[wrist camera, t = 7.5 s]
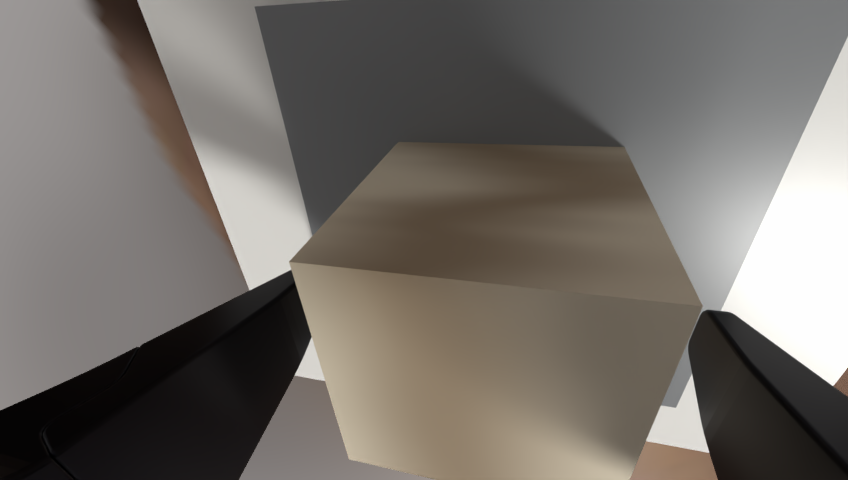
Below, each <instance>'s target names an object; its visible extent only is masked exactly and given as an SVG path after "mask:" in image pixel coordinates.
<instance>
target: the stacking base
mask: <svg viewBox="0 0 848 480" xmlns="http://www.w3.org/2000/svg"><path fill="white" fill-rule="evenodd" d="M137 1H138V4H139V6H140V9H141V11H142V14H143V17H144V19H145V22H146V24H147V27H148V29H149V32H150V35H151V37H152V40H153V42H154V45H155V47H156V50H157V53H158V55H159V58H160V60H161V63H162V66H163V68H164V71H165V73H166V76H167V78H168V81H169V84H170V86H171V89H172V91H173V94H174V97H175V99H176V102H177V104H178V107H179V109H180V112H181V115H182V117H183V120H184V122H185V125H186V127H187V130H188V133H189V135H190V138H191V140H192V143H193V146H194V148H195V151H196V153H197V156H198V158H199V161H200V164H201V166H202V169H203V171H204V174H205V176H206V179H207V182H208V184H209V187H210V189H211V192H212V195H213V197H214V200H215V202H216V205H217V207H218V210H219V213H220V215H221V218H222V220H223V223H224V226H225V228H226V231H227V233H228V236H229V238H230V241H231V244H232V246H233V249H234V251H235V254H236V256H237V259H238V262H239V264H240V267H241V269H242V272H243V275H244V277H245V280H246V282H247V285H248V287H249V290H252V289H254V288H256V287H258V286H260V285H262V284H264V283H265V282H267V281H269V280H271V279H273V278H275V277H277V276H279V275H281V274H283V273H285V272H287V271H289V270H291V267H290V263H289V261H290V260H291V259H292V258H293V257H294V256H295V255H296V254H297V252H298V251H299V250H300V249H301V248H302V247H303V246H304V245H305V244H306V243H307V241H308V240H309V239H310V238H311V237H312V236H313V235H314V234H315V233H316V232H317V230H318V229H319V228H320V227H321V226H322V225H323V224H324V223H325V222H326V221H327V220H328V218H329V217H330V216H331V215H332V214H333V213H334V212H335V211H336V210H337V209H338V207H339V206H340V205H341V204H342V203H343V202H344V201H345V200H346V199H347V198H348V196H349V195H350V194H351V193H352V192H353V191H354V190H355V189H356V188H357V187H358V185H359V184H360V183H361V182H362V181H363V180H364V179H365V178H366V177H367V176H368V175H369V173H370V172H371V171H372V170H373V169H374V168H375V167H376V166H377V165H378V164H379V162H380V161H381V160H382V159H383V158H384V157H385V156H386V155H387V154H388V153H389V151H390V150H391V149H392V148H393V147H394V146H395V145H396V144H397V143H398V142H422V143H467V144H512V145H557V146H601V147H625V149H626V151H627V153H628V155H629V157H630V159H631V161H632V163H633V165H634V167H635V169H636V171H637V174H638V176H639V178H640V180H641V182H642V184H643V186H644V188H645V190H646V192H647V194H648V196H649V198H650V200H651V202H652V204H653V206H654V208H655V210H656V212H657V214H658V216H659V218H660V220H661V222H662V224H663V226H664V228H665V230H666V232H667V234H668V236H669V238H670V240H671V242H672V244H673V247H674V249H675V251H676V253H677V255H678V257H679V259H680V261H681V263H682V265H683V267H684V269H685V271H686V273H687V275H688V277H689V279H690V281H691V283H692V285H693V287H694V289H695V291H696V293H697V295H698V297H699V299H700V301H701V303H702V305H703V308H702V310H701V312H700V315H701V313H702V312H703V311H705V310H718V311H727V312H731V313H733V314H735V315H736V316H738V317H739V318H740V319H742V320H743V321H744V322H746V323H747V324H749V325H750V326H751V327H753V328H754V329H755V330H757V331H758V332H760V333H761V334H762V335H764V336H765V337H766V338H768V339H769V340H771V341H772V342H773V343H775V344H776V345H777V346H779V347H780V348H781V349H783V350H784V351H786V352H787V353H788V354H790V355H791V356H792V357H794V358H795V359H797V360H798V361H799V362H801V363H802V364H803V365H805V366H806V367H807V368H809V369H810V370H812V371H813V372H814V373H816V374H817V375H818V376H820V377H821V378H823V379H824V380H825V381H827V382H828V383H829V384H831V385H832V386H834V384H835V383H836V382H837V381H838V379H839V378H840V377H841V375H842V374H843V373H844V372H845V370H846V369H847V368H848V0H137ZM700 315H699V316H700ZM698 319H699V317H698ZM698 319H697V321H698ZM696 323H697V322H696ZM695 326H696V324H695ZM695 326H694V328H695ZM693 330H694V329H693ZM692 333H693V331H692ZM692 333H691V335H692ZM690 337H691V336H690ZM689 340H690V338H689ZM688 344H689V341H688V343H687V345H686V348H685V350H684V352H683V355H682V357H681V359H680V362H679V364H678V366H677V369H676V371H675V373H674V376H673V378H672V381H671V383H670V385H669V388H668V390H667V392H666V395H665V397H664V399H663V402H662V404H661V406H660V409H659V411H658V414H657V416H656V418H655V421H654V423H653V425H652V428H651V430H650V432H649V435H648V437H647V439H646V441H649V442H654V443H659V444H665V445H670V446H675V447H681V448H686V449H691V450H697V451H702V452H708V453H709V450H708V446H707V443H706V439H705V436H704V432H703V428H702V423H701V419H700V413H699V408H698V403H697V397H696V392H695V387H694V381H693V376H692V371H691V365H690V360H689V355H688ZM295 376H301V377H306V378H311V379H317V380H322V381H325V379H324V375H323V372H322V369H321V366H320V362H319V359H318V356H317V352H316V349H315V346H314V342H313V339H312V338H311V340H310V343H309V345H308V348H307V350H306V353H305V355H304V357H303V359H302V362H301V364H300V366H299V368H298V369H297V371H296V373H295Z"/></svg>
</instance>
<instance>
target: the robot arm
mask: <svg viewBox="0 0 848 480" xmlns="http://www.w3.org/2000/svg"><path fill="white" fill-rule="evenodd" d="M311 338H312V336H311V333H310V329H309V326H308V323H307V319H306V316H305V313H304V310H303V306H302V303H301V300H300V296H299V293H298V290H297V287H296V283H295V280H294V277H293V273H292V270H289V271H287V272H285V273H283V274H281V275H279V276H277V277H275V278H273V279H271V280H269V281H267V282H265V283H264V284H262V285H260V286H258V287H256V288H254V289H252V290H250V291H248V292H246V293H244V294H242V295H240V296H238V297H236V298H234V299H232V300H230V301H228V302H226V303H224V304H222V305H220V306H218V307H216V308H214V309H212V310H210V311H208V312H206V313H204V314H202V315H200V316H198V317H196V318H194V319H192V320H190V321H188V322H186V323H184V324H182V325H180V326H178V327H176V328H174V329H172V330H170V331H168V332H166V333H164V334H162V335H160V336H158V337H156V338H154V339H152V340H150V341H148V342H146V343H144V344H142V345H141V346H140V347H136V348H134V349H132V350H130V351H128V352H126V353H124V354H122V355H120V356H118V357H116V358H114V359H112V360H110V361H108V362H106V363H104V364H102V365H100V366H97V367H95V368H93V369H91V370H89V371H87V372H85V373H83V374H81V375H79V376H76V377H74V378H72V379H70V380H68V381H65V382H63V383H61V384H59V385H57V386H54V387H52V388H50V389H48V390H45V391H44V392H41V393H39V394H36V395H34V396H32V397H30V398H27V399H25V400H23V401H21V402H18V403H16V404H14V405H12V406H10V407H7V408H5V409H3V410H0V480H239V478H240V476H241V474H242V473H243V471H244V468H245V467H246V465H247V463H248V461H249V459H250V458H251V456H252V454H253V452H254V450H255V448H256V446H257V444H258V443H259V441H260V439H261V437H262V435H263V433H264V431H265V430H266V428H267V426H268V424H269V422H270V420H271V418H272V416H273V415H274V413H275V411H276V409H277V407H278V405H279V403H280V401H281V400H282V398H283V396H284V394H285V392H286V390H287V388H288V386H289V384H290V383H291V381H292V379H293V377H294V375H295V373H296V371H297V369H298V368H299V366H300V364H301V362H302V359H303V357H304V355H305V353H306V350H307V348H308V345H309V343H310V340H311ZM688 355H689V360H690V365H691V371H692V376H693V381H694V387H695V392H696V397H697V403H698V408H699V413H700V419H701V423H702V428H703V432H704V436H705V439H706V443H707V446H708V450H709V453H710V456H711V459H712V462H713V465H714V469H715V472H716V475H717V478H718V480H848V397H847V396H846V395H844V394H843V393H842V392H840V391H839V390H838V389H836V388H835V387H834V386H832V385H831V384H829V383H828V382H827V381H825V380H824V379H823V378H821V377H820V376H818V375H817V374H816V373H814V372H813V371H812V370H810V369H809V368H807V367H806V366H805V365H803V364H802V363H801V362H799V361H798V360H797V359H795V358H794V357H792V356H791V355H790V354H788V353H787V352H786V351H784V350H783V349H781V348H780V347H779V346H777V345H776V344H775V343H773V342H772V341H771V340H769V339H768V338H766V337H765V336H764V335H762V334H761V333H760V332H758V331H757V330H755V329H754V328H753V327H751V326H750V325H749V324H747V323H746V322H744V321H743V320H742V319H740V318H739V317H738V316H736V315H735V314H733V313H731V312H727V311H718V310H705V311H703V312H702V313H701V315H700V316H699V319H698V321H697V323H696V326H695V328H694V330H693V333H692V335H691V337H690V340H689V344H688Z"/></svg>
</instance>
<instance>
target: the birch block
mask: <svg viewBox="0 0 848 480" xmlns="http://www.w3.org/2000/svg"><path fill="white" fill-rule="evenodd" d="M289 263H290V267H291V270H292V273H293V277H294V280H295V283H296V287H297V290H298V293H299V296H300V300H301V303H302V306H303V310H304V313H305V316H306V319H307V323H308V326H309V329H310V333H311V336H312V339H313V342H314V346H315V349H316V352H317V356H318V359H319V362H320V366H321V369H322V372H323V375H324V379H325V382H326V385H327V389H328V392H329V395H330V398H331V402H332V405H333V408H334V412H335V414H336V418H337V421H338V425H339V428H340V431H341V435H342V438H343V441H344V445H345V448H346V451H347V454H348V458H349V459H350V460H355V461H359V462H364V463H368V464H372V465H376V466H380V467H385V468H389V469H393V470H397V471H402V472H406V473H410V474H414V475H418V476H423V477H427V478H431V479H436V480H629V479H630V477H631V475H632V472H633V470H634V468H635V465H636V463H637V461H638V458H639V456H640V454H641V451H642V449H643V446H644V444H645V442H646V439H647V437H648V435H649V432H650V430H651V428H652V425H653V423H654V421H655V418H656V416H657V414H658V411H659V409H660V406H661V404H662V402H663V399H664V397H665V395H666V392H667V390H668V388H669V385H670V383H671V381H672V378H673V376H674V373H675V371H676V369H677V366H678V364H679V362H680V359H681V357H682V355H683V352H684V350H685V348H686V345H687V343H688V341H689V338H690V336H691V333H692V331H693V329H694V326H695V324H696V322H697V319H698V317H699V315H700V312H701V310H702V308H703V305H702V303H701V301H700V299H699V297H698V295H697V293H696V291H695V289H694V287H693V285H692V283H691V281H690V279H689V277H688V275H687V273H686V271H685V269H684V267H683V265H682V263H681V261H680V259H679V257H678V255H677V253H676V251H675V249H674V247H673V244H672V242H671V240H670V238H669V236H668V234H667V232H666V230H665V228H664V226H663V224H662V222H661V220H660V218H659V216H658V214H657V212H656V210H655V208H654V206H653V204H652V202H651V200H650V198H649V196H648V194H647V192H646V190H645V188H644V186H643V184H642V182H641V180H640V178H639V176H638V174H637V171H636V169H635V167H634V165H633V163H632V161H631V159H630V157H629V155H628V153H627V151H626V149H625V147H601V146H557V145H512V144H467V143H422V142H398V143H397V144H396V145H395V146H394V147H393V148H392V149H391V150H390V151H389V153H388V154H387V155H386V156H385V157H384V158H383V159H382V160H381V161H380V162H379V164H378V165H377V166H376V167H375V168H374V169H373V170H372V171H371V172H370V173H369V175H368V176H367V177H366V178H365V179H364V180H363V181H362V182H361V183H360V184H359V185H358V187H357V188H356V189H355V190H354V191H353V192H352V193H351V194H350V195H349V196H348V198H347V199H346V200H345V201H344V202H343V203H342V204H341V205H340V206H339V207H338V209H337V210H336V211H335V212H334V213H333V214H332V215H331V216H330V217H329V218H328V220H327V221H326V222H325V223H324V224H323V225H322V226H321V227H320V228H319V229H318V230H317V232H316V233H315V234H314V235H313V236H312V237H311V238H310V239H309V240H308V241H307V243H306V244H305V245H304V246H303V247H302V248H301V249H300V250H299V251H298V252H297V254H296V255H295V256H294V257H293V258H292V259H291V260H290V261H289Z"/></svg>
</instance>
